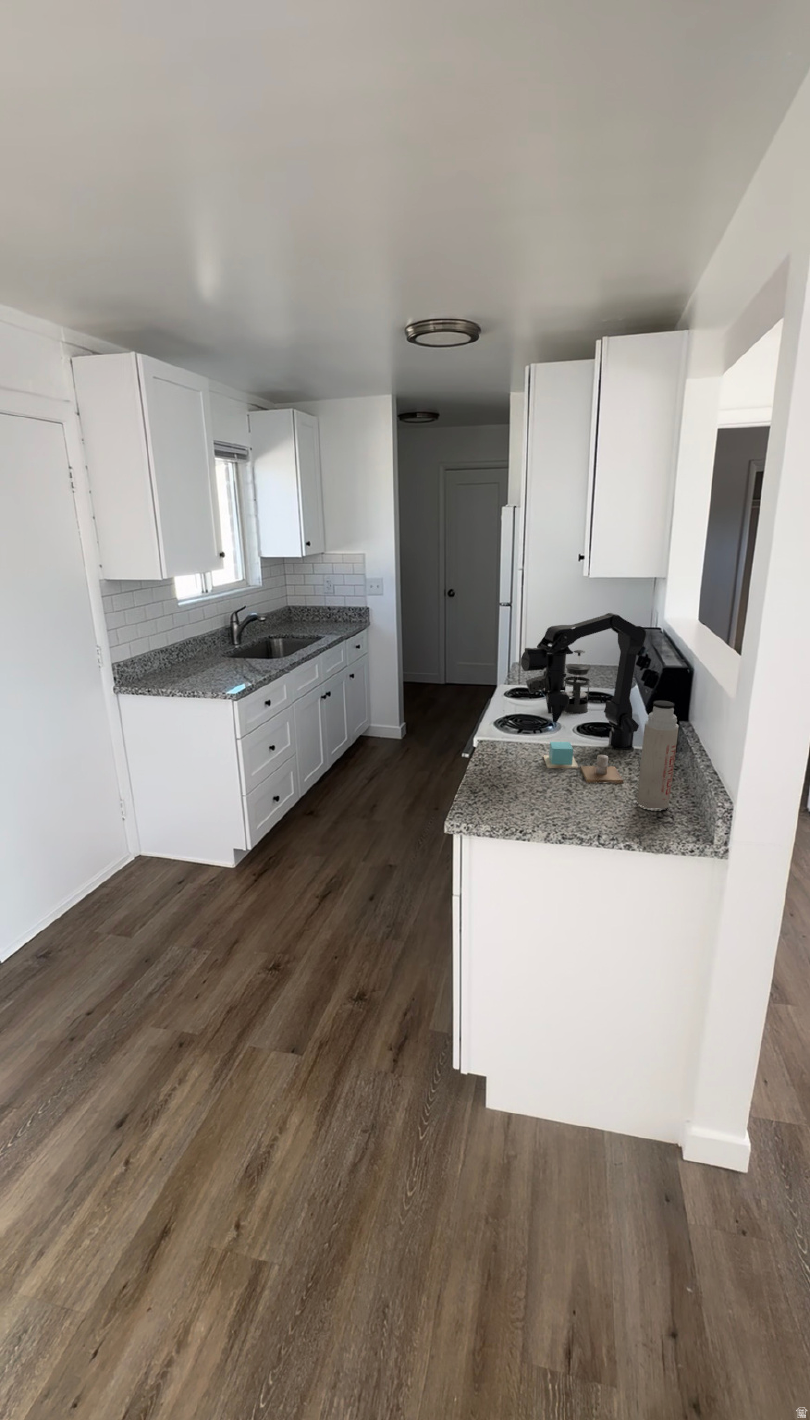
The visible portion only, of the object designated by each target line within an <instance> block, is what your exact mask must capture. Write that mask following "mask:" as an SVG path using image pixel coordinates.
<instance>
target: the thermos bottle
mask: <svg viewBox="0 0 810 1420" xmlns="http://www.w3.org/2000/svg"><path fill="white" fill-rule="evenodd" d="M652 705H653V708H652V711H651V712H650V713H649V714H648V716H647V718H648V719H647V720H646V721H645V722H644V726H643V727H644V728H643V738H642V747H641V757H640V765H639V766H640V767H639V775H638V783H637V792H636V793H637V795H636V801H637V802H638V803H639V804H640V805H642V806H644V807H647V808H666V807H668V806H669V807H670V799H671V790H672V783H673V774H674V767H675V759H676V752H677V743H678V737H679V736H678V735H679V727H680V726H679V724H677V722H678V719H677V718H678V717H677V716H676V714H674V711H675V709H674V707H675V703H674V702H671V701H668V700H655V701H653V704H652Z"/></svg>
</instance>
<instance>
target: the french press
mask: <svg viewBox="0 0 810 1420" xmlns="http://www.w3.org/2000/svg"><path fill="white" fill-rule="evenodd" d="M573 653H575V654H576V653H577V656H578V658H577V663H572V664H571V663H570V664H567V665H565V669H566V674H569V675H573V676H566V677H565V679H564V686H565V688H566V687H567V686H566V685H569V686H572V690H568V691H566V689H565V690H563V691H565V692H566V693H567V694H568V696H569V697H570V698H569V704H568V705H567V706H566V707H565V709H564V710H563V712H566V713H569V714H576V715H580V714H586V713H588V712H589V709H588V707H589V706H588V705H589V693H590V692H589V691H590V679H589V678H587V677H585V676H586V675H587V674H588V673H589V671H590V670H591V666H589V665H586V664H581V663H580V657H581V654H585V653H586V651H585V650H583V649H577V650H576V649H575V650H573ZM582 676H583V677H582ZM579 681H583V682H579ZM585 686H587V692H585V691H582V690H581V688H582V687H585ZM584 698H586V699H584Z"/></svg>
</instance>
